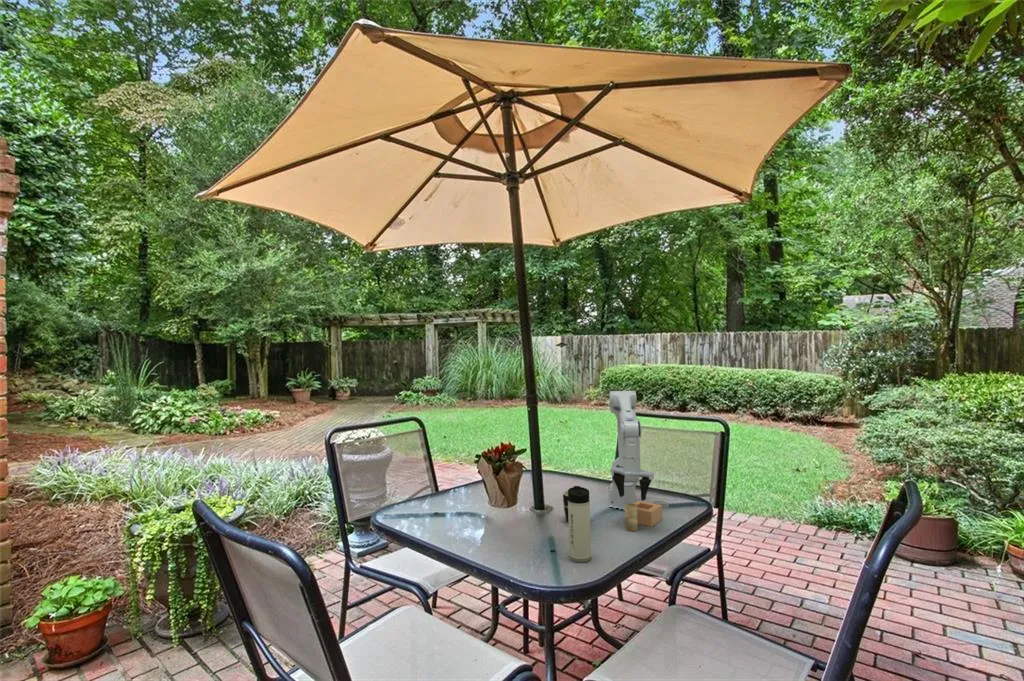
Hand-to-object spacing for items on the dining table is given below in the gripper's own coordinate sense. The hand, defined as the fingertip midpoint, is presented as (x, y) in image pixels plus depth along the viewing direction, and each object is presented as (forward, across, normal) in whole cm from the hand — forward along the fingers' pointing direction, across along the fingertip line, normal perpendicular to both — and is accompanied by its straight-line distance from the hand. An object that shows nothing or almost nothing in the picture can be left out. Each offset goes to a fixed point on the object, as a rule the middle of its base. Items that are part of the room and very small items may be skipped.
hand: (632, 498), depth 164 cm
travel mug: (+11, -4, -29) cm, 32 cm away
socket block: (+10, 0, +10) cm, 14 cm away
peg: (+10, 0, 0) cm, 10 cm away
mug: (+11, -18, -5) cm, 22 cm away
